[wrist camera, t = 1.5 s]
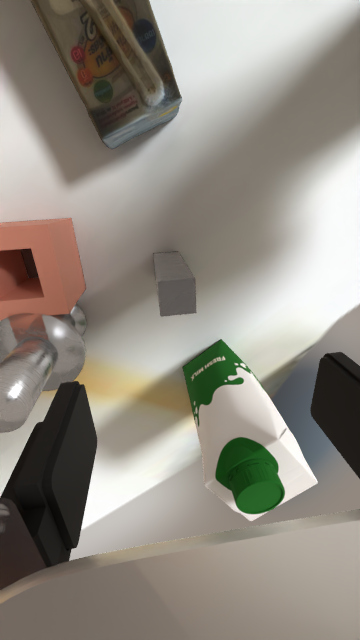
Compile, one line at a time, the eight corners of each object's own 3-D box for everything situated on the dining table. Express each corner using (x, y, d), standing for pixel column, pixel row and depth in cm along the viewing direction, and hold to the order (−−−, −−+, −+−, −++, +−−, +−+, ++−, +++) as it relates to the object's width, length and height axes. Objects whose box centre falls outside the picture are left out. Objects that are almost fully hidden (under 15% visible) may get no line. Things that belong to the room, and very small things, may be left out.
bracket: (71, 217, 29) (47, 224, 22) (90, 308, 34) (75, 337, 27) (-6, 223, 29) (-57, 231, 22) (23, 314, 33) (-10, 346, 26)
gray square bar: (178, 251, 32) (195, 278, 21) (179, 275, 34) (196, 312, 23) (153, 253, 32) (157, 281, 21) (155, 278, 33) (160, 316, 22)
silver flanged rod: (89, 283, 33) (45, 351, 18) (102, 348, 36) (74, 447, 22) (11, 290, 32) (-100, 367, 17) (33, 355, 36) (-44, 463, 21)
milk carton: (222, 330, 37) (295, 454, 19) (255, 370, 41) (343, 507, 23) (173, 366, 39) (198, 513, 21) (209, 402, 42) (257, 554, 24)
